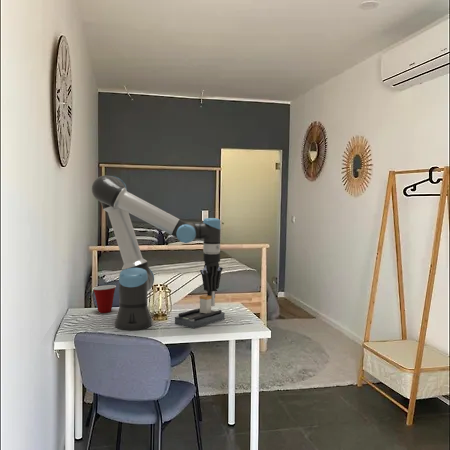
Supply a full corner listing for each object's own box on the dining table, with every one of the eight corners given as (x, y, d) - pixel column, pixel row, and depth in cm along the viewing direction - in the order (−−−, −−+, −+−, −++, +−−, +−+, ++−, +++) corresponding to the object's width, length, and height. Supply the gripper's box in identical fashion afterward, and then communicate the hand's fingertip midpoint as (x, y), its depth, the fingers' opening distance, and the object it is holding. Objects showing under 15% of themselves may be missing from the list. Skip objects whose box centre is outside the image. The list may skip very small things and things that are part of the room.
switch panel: (193, 328, 204) (193, 318, 204) (174, 324, 211) (174, 313, 211) (224, 319, 219) (224, 309, 219) (206, 315, 226) (206, 305, 226)
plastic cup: (103, 308, 239) (102, 283, 238) (121, 310, 234) (120, 285, 234) (87, 312, 229) (87, 287, 229) (106, 315, 225) (105, 289, 224)
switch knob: (206, 313, 215) (206, 297, 215) (199, 312, 218) (199, 295, 217) (211, 312, 217) (211, 295, 217) (204, 311, 220) (204, 294, 220)
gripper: (208, 255, 212) (208, 309, 213) (227, 252, 222) (226, 304, 223) (195, 253, 216) (195, 306, 218) (214, 251, 227) (214, 302, 228)
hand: (211, 305), depth 221 cm, fingers closed
